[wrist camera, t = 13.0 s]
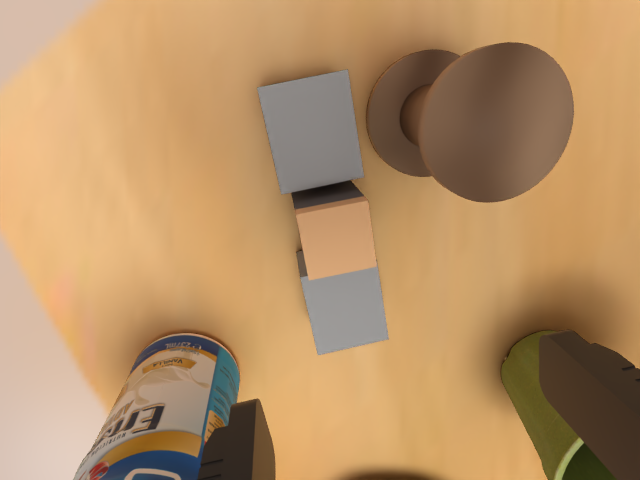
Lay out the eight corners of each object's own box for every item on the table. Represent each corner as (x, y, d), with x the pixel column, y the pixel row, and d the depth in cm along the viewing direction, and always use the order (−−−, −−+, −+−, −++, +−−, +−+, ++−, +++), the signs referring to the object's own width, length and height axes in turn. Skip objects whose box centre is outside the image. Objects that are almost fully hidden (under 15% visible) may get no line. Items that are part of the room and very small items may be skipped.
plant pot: (547, 278, 34) (674, 363, 23) (624, 352, 37) (764, 455, 27) (444, 376, 36) (517, 494, 25) (527, 437, 39) (620, 563, 29)
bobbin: (477, 40, 27) (587, 12, 18) (483, 161, 30) (580, 193, 20) (357, 64, 27) (404, 49, 17) (375, 184, 29) (423, 227, 20)
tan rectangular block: (346, 175, 29) (368, 200, 22) (354, 228, 30) (376, 266, 24) (290, 186, 29) (295, 214, 22) (300, 239, 30) (308, 280, 24)
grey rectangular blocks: (335, 72, 27) (347, 69, 22) (373, 307, 33) (388, 339, 29) (259, 88, 26) (256, 87, 22) (311, 321, 33) (317, 355, 28)
